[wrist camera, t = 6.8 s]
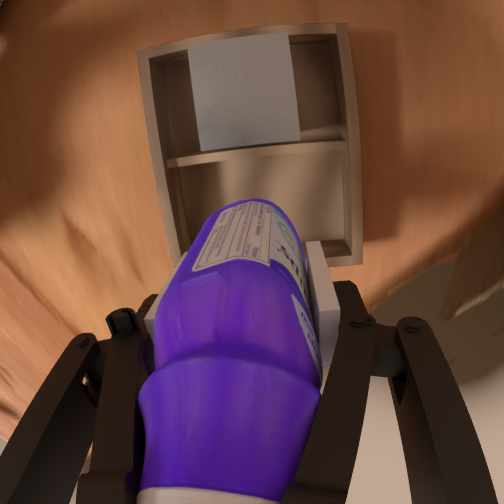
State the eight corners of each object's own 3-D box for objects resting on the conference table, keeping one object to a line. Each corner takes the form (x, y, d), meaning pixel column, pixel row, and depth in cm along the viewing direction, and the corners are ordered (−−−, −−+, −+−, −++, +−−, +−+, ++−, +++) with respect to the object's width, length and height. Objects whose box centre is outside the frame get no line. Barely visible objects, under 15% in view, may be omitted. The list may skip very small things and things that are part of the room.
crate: (188, 257, 36) (176, 278, 32) (156, 59, 27) (137, 51, 23) (351, 244, 34) (362, 264, 30) (336, 36, 26) (346, 23, 21)
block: (217, 143, 30) (201, 151, 23) (206, 61, 27) (187, 46, 20) (294, 135, 29) (300, 140, 23) (284, 51, 26) (287, 32, 19)
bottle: (316, 284, 21) (357, 568, 5) (236, 307, 22) (185, 572, 6) (280, 180, 19) (294, 505, 3) (192, 212, 20) (13, 474, 4)
